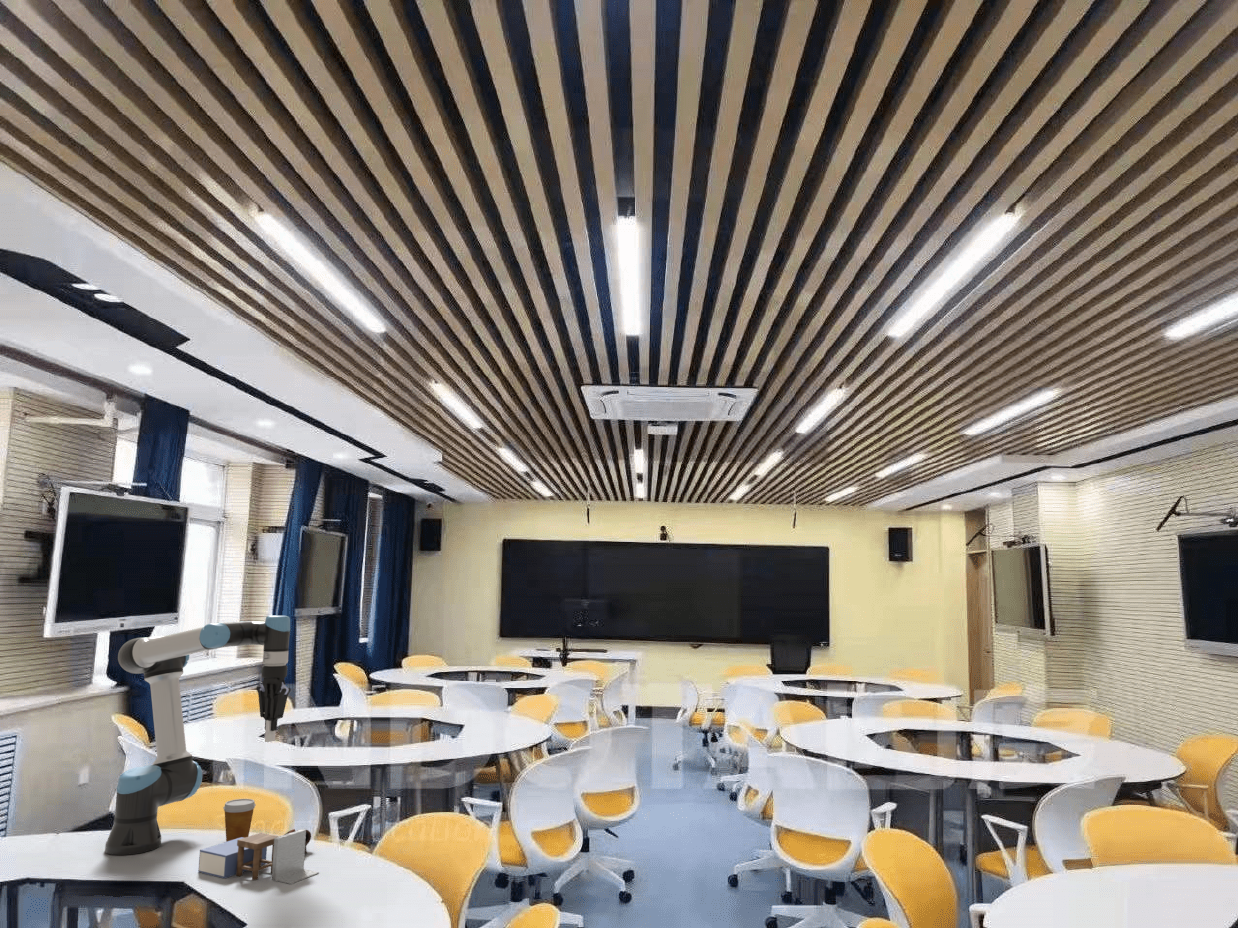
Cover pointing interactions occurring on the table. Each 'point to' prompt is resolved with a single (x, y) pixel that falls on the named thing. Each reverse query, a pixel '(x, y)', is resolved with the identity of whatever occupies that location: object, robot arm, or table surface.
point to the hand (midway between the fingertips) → (269, 741)
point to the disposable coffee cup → (238, 818)
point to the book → (224, 859)
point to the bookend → (290, 858)
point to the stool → (257, 844)
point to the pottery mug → (308, 837)
